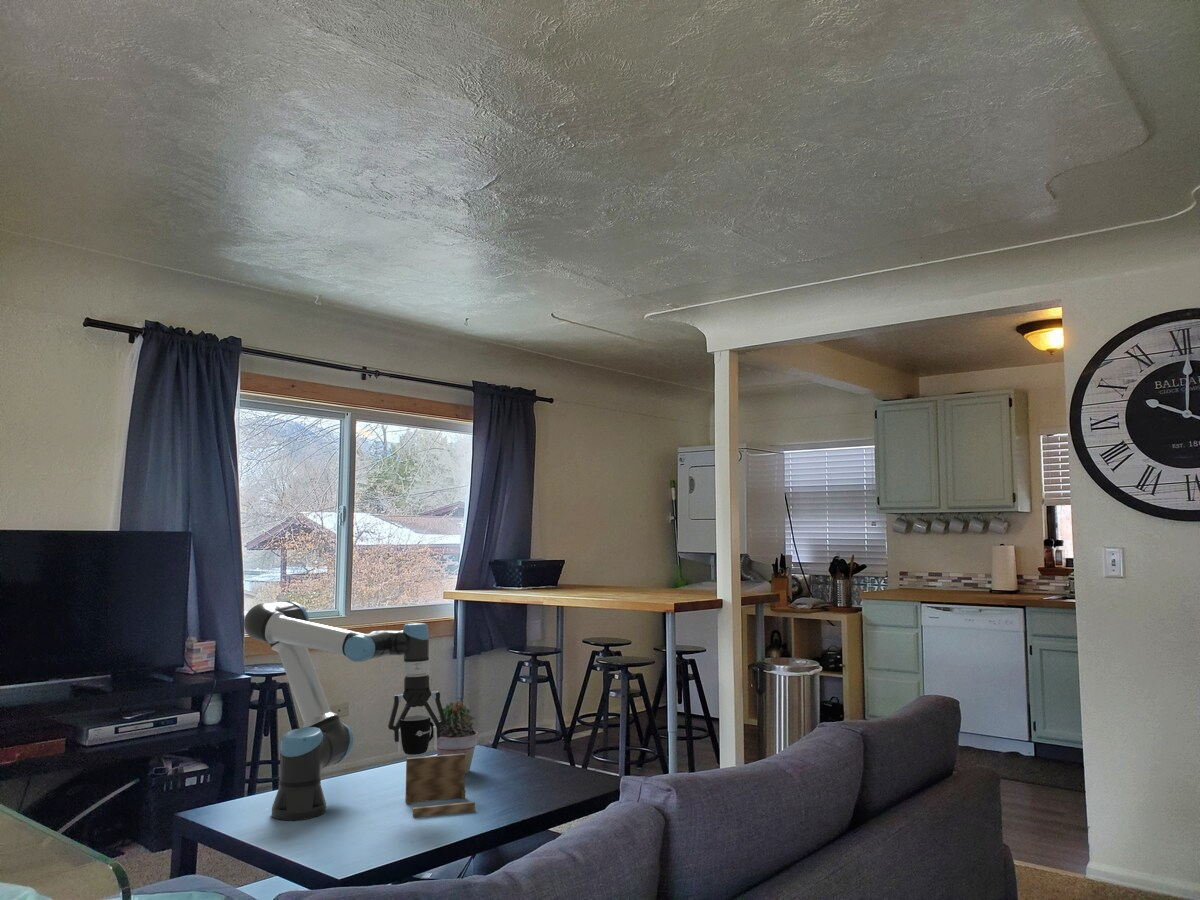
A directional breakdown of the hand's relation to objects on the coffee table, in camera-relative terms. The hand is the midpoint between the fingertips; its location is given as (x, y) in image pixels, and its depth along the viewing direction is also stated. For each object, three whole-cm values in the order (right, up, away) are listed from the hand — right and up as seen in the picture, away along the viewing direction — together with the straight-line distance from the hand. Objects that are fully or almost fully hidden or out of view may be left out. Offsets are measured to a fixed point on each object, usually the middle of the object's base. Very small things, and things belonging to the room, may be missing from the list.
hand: (417, 750), depth 262 cm
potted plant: (+4, -22, +43) cm, 48 cm away
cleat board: (+6, -17, +1) cm, 18 cm away
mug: (+1, 0, 0) cm, 1 cm away
